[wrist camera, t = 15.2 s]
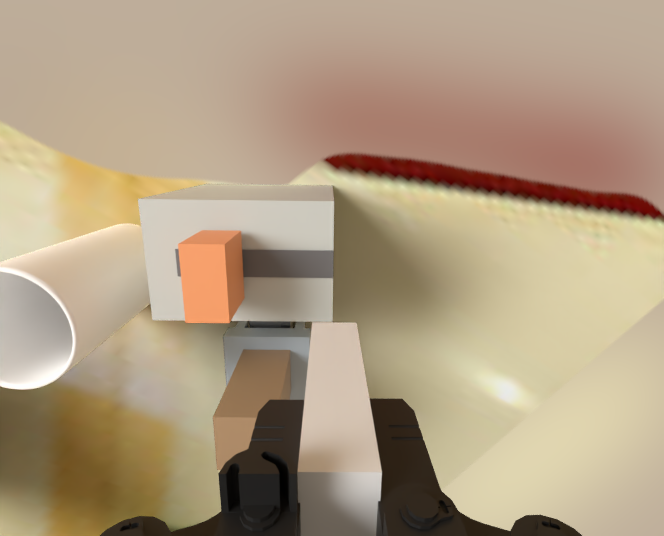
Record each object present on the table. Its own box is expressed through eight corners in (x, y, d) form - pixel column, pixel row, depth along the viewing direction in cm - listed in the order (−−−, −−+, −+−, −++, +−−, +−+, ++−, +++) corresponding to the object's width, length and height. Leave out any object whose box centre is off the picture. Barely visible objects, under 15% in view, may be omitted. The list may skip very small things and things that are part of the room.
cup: (190, 269, 40) (104, 340, 24) (134, 317, 41) (19, 412, 26) (130, 206, 38) (-4, 239, 23) (74, 258, 40) (-89, 323, 24)
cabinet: (212, 268, 40) (152, 326, 26) (206, 183, 38) (137, 199, 24) (331, 269, 40) (332, 327, 26) (332, 185, 38) (334, 201, 24)
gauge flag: (207, 297, 25) (185, 322, 22) (201, 230, 24) (177, 243, 20) (244, 297, 25) (229, 323, 22) (241, 230, 24) (224, 244, 20)
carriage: (236, 381, 42) (193, 484, 29) (232, 320, 40) (185, 400, 27) (311, 381, 42) (303, 484, 29) (311, 320, 40) (302, 401, 27)
